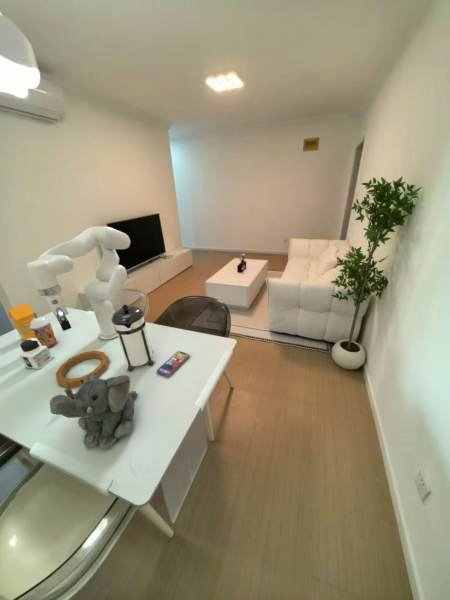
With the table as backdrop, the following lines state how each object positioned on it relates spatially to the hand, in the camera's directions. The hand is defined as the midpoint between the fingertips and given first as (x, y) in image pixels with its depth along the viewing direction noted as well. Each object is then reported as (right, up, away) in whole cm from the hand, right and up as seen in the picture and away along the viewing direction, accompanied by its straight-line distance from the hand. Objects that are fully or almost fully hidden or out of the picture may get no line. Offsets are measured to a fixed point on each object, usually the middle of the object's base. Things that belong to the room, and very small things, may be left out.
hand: (65, 325), depth 102 cm
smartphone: (+48, -18, +3) cm, 52 cm away
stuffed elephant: (+33, -32, -23) cm, 51 cm away
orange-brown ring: (+7, -21, +3) cm, 22 cm away
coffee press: (+31, -17, +7) cm, 36 cm away
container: (-19, -20, +9) cm, 29 cm away
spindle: (+12, -28, -13) cm, 33 cm away
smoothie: (-24, -13, +22) cm, 35 cm away
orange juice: (-40, -10, +31) cm, 52 cm away
